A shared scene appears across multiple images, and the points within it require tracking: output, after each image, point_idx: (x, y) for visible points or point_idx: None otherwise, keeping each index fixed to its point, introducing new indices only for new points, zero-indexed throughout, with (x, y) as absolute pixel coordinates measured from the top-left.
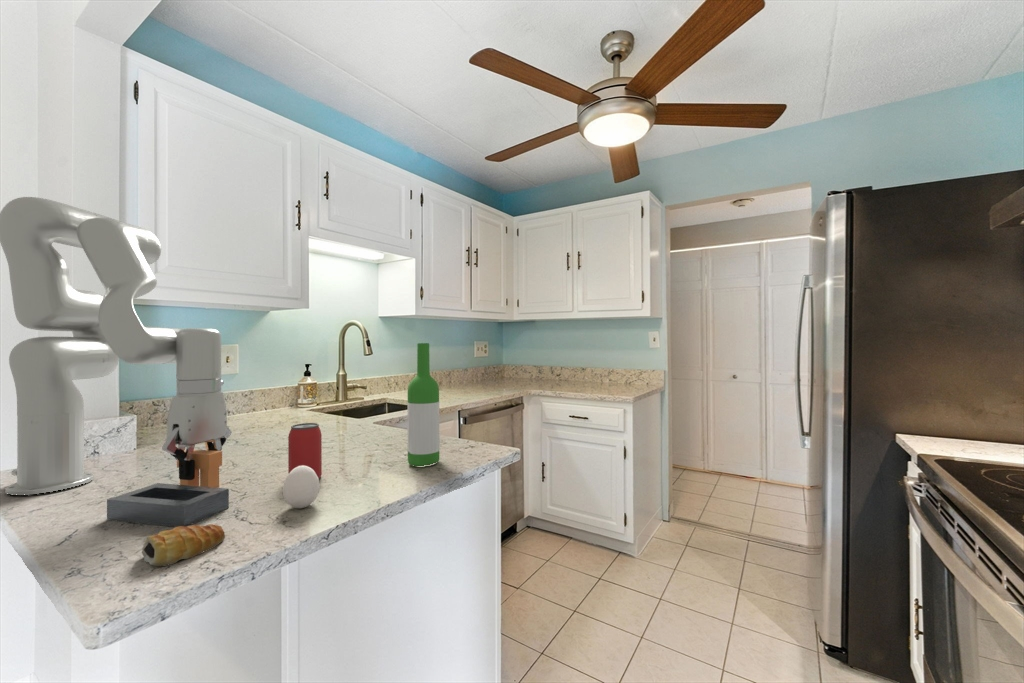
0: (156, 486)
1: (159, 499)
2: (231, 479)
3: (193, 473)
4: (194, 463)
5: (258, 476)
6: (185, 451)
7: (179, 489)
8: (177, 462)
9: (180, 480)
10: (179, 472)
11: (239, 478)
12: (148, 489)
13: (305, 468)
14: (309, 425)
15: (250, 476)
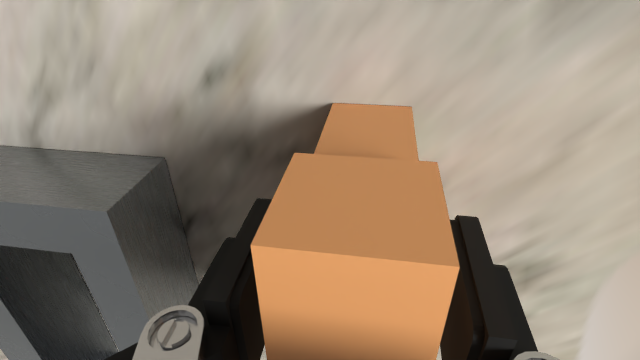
0: (79, 249)
1: (33, 354)
2: (525, 247)
3: None
4: (257, 357)
5: (571, 330)
6: (337, 286)
7: (119, 348)
8: (283, 184)
9: (326, 126)
10: (219, 253)
11: (542, 272)
12: (40, 249)
13: None
14: None
15: (577, 300)
